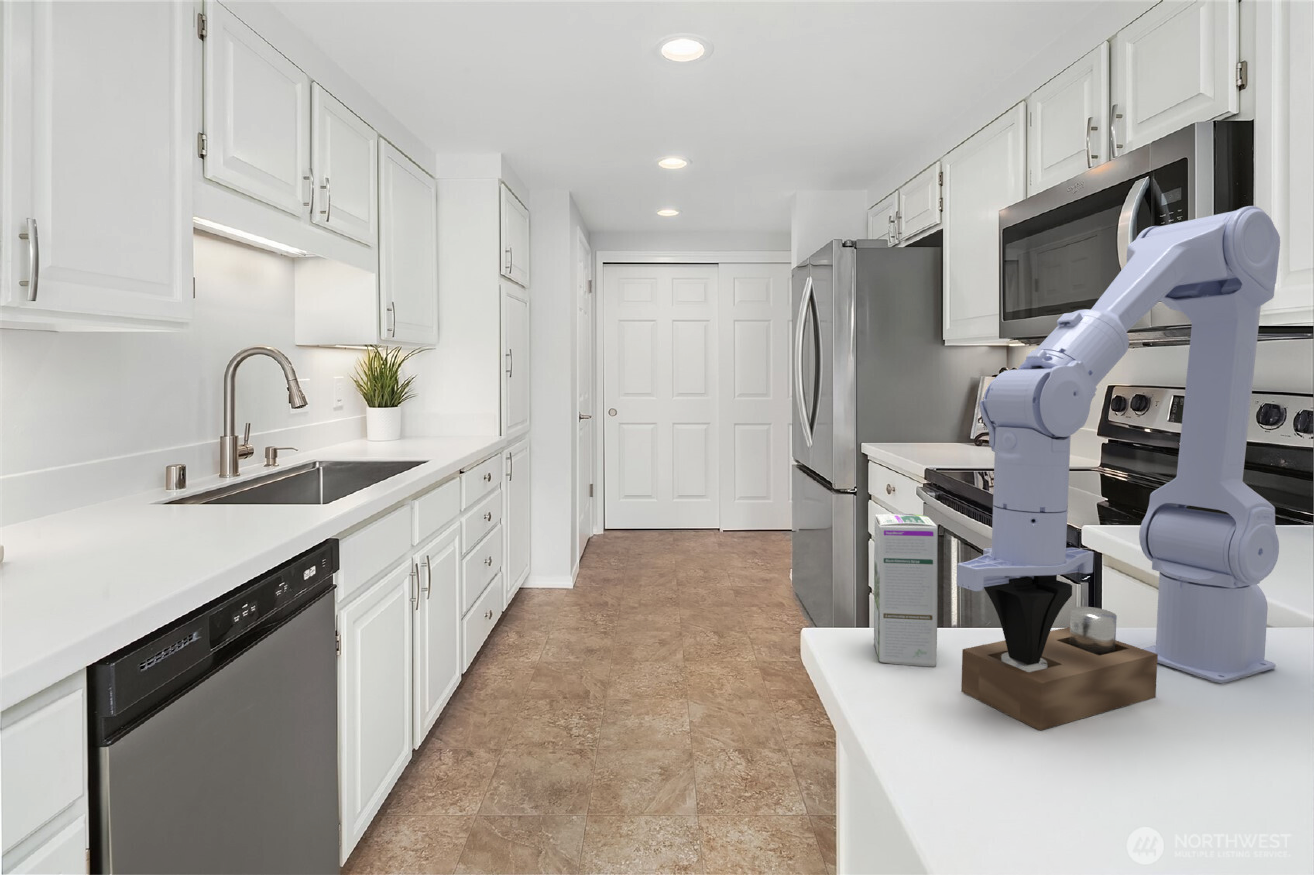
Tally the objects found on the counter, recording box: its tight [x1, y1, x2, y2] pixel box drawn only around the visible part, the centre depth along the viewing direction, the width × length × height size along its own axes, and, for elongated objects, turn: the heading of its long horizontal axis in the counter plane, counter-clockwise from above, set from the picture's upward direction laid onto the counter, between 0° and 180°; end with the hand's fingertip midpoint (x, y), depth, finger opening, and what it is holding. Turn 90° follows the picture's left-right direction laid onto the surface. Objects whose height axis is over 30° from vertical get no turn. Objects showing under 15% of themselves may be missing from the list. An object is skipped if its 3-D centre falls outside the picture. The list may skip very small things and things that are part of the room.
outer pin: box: [1001, 652, 1048, 672], centre depth 61 cm, size 4×4×4 cm
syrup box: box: [873, 513, 939, 668], centre depth 72 cm, size 6×6×14 cm
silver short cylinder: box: [1069, 606, 1118, 656], centre depth 65 cm, size 4×4×4 cm
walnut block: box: [960, 626, 1158, 731], centre depth 63 cm, size 15×8×4 cm, turn 114°
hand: (1023, 660), depth 61 cm, fingers closed, pressing on outer pin
